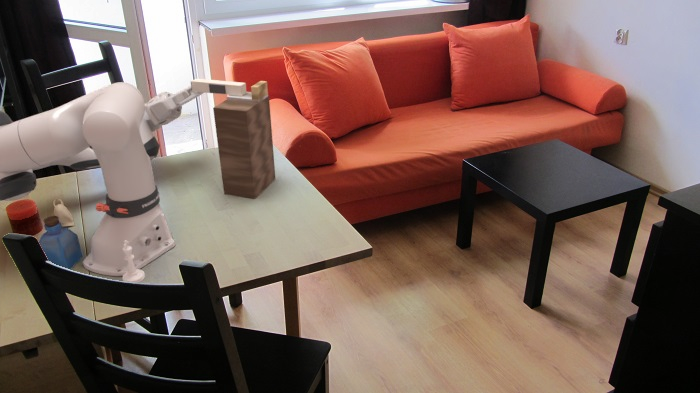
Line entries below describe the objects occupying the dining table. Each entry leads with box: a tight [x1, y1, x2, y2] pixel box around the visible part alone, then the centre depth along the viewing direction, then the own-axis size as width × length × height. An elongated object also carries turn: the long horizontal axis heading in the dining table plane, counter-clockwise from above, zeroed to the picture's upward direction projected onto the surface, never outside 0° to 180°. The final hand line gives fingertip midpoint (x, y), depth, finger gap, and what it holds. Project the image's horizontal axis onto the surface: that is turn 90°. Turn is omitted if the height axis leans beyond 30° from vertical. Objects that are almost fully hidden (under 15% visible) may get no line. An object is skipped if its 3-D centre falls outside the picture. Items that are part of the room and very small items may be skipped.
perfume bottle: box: [38, 215, 84, 270], centre depth 132 cm, size 6×6×12 cm
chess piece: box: [121, 240, 146, 283], centre depth 127 cm, size 5×5×10 cm
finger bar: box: [190, 78, 248, 96], centre depth 162 cm, size 3×16×3 cm, turn 71°
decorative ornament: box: [52, 198, 75, 228], centre depth 152 cm, size 4×8×5 cm, turn 28°
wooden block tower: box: [212, 80, 276, 200], centre depth 163 cm, size 14×10×31 cm
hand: (197, 88), depth 165 cm, fingers open, 8 cm apart
